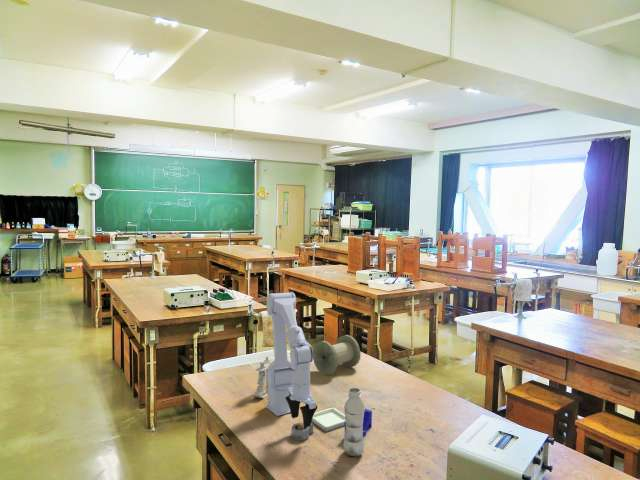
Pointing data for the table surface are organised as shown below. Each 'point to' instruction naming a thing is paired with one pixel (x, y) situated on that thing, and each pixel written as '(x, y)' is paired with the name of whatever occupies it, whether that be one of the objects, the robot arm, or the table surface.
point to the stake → (300, 426)
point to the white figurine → (262, 380)
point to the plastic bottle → (354, 423)
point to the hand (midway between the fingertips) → (300, 421)
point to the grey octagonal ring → (301, 432)
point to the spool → (336, 354)
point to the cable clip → (366, 421)
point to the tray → (329, 419)
